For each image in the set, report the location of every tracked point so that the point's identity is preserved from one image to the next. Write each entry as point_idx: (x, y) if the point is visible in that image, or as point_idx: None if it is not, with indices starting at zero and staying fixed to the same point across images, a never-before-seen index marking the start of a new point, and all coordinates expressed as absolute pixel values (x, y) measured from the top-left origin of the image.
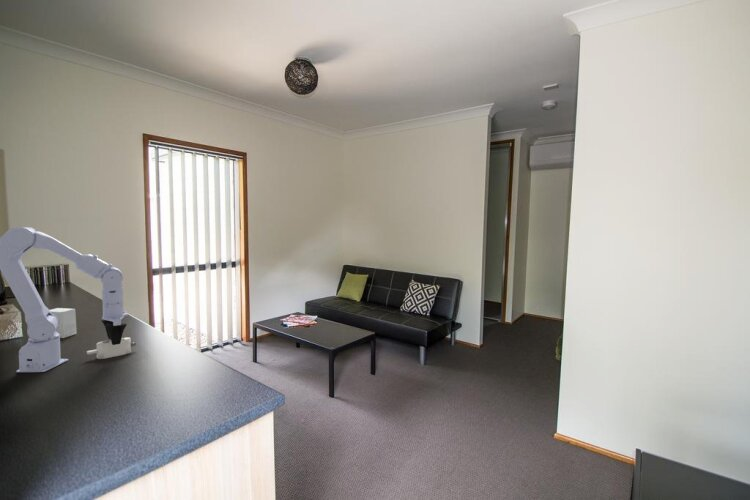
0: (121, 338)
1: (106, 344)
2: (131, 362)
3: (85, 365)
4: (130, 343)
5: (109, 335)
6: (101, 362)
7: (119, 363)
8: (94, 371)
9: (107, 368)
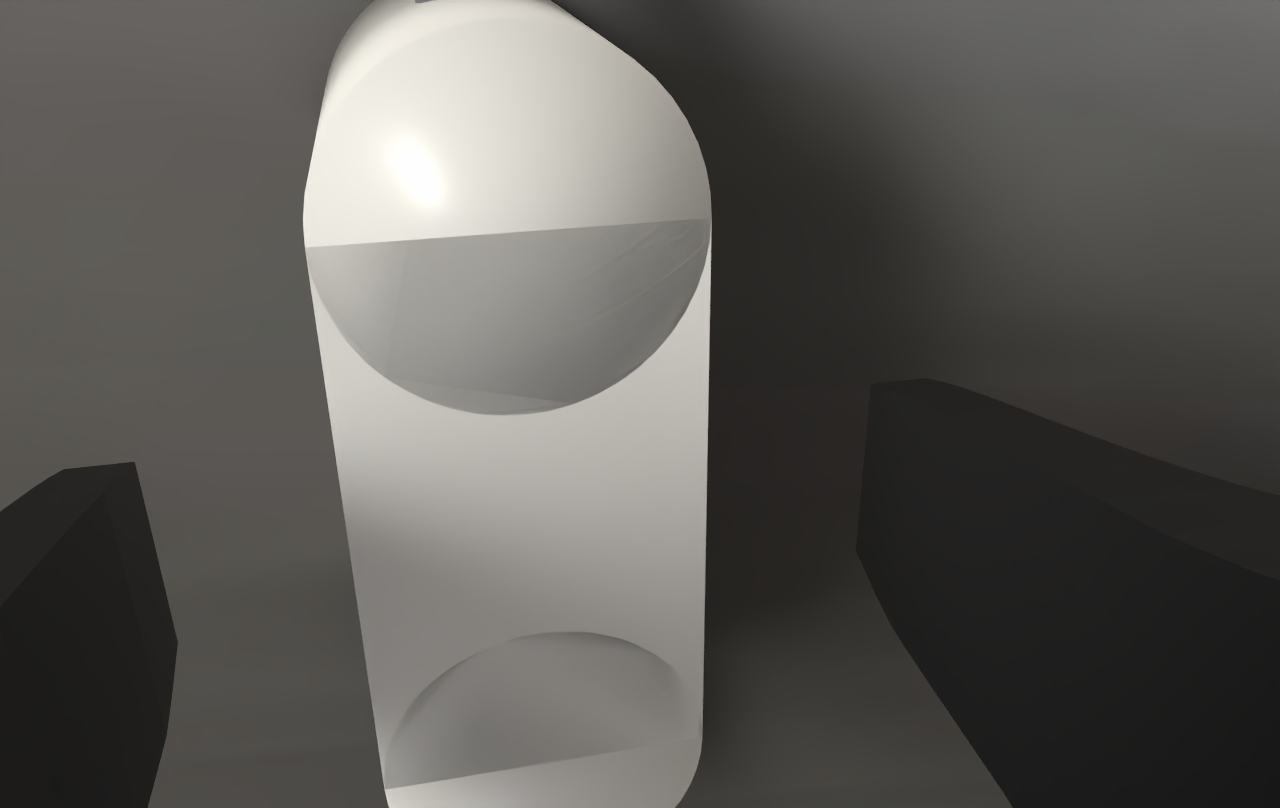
0: (377, 318)
1: (690, 668)
2: (1258, 78)
3: (798, 739)
4: (552, 9)
5: (140, 724)
6: (826, 546)
7: (1128, 283)
8: None
9: (1211, 462)
